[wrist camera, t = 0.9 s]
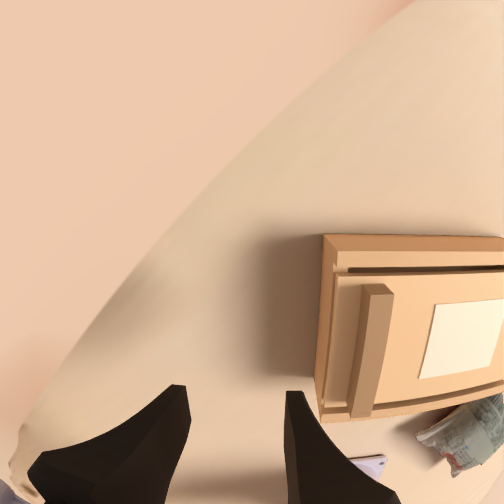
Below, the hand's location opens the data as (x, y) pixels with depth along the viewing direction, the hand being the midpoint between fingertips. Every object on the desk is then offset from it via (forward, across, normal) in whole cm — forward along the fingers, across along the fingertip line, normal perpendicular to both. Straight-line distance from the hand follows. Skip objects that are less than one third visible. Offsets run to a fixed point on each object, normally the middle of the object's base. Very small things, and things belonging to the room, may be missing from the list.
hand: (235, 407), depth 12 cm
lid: (+5, -12, 0) cm, 13 cm away
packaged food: (+10, -21, +14) cm, 27 cm away
